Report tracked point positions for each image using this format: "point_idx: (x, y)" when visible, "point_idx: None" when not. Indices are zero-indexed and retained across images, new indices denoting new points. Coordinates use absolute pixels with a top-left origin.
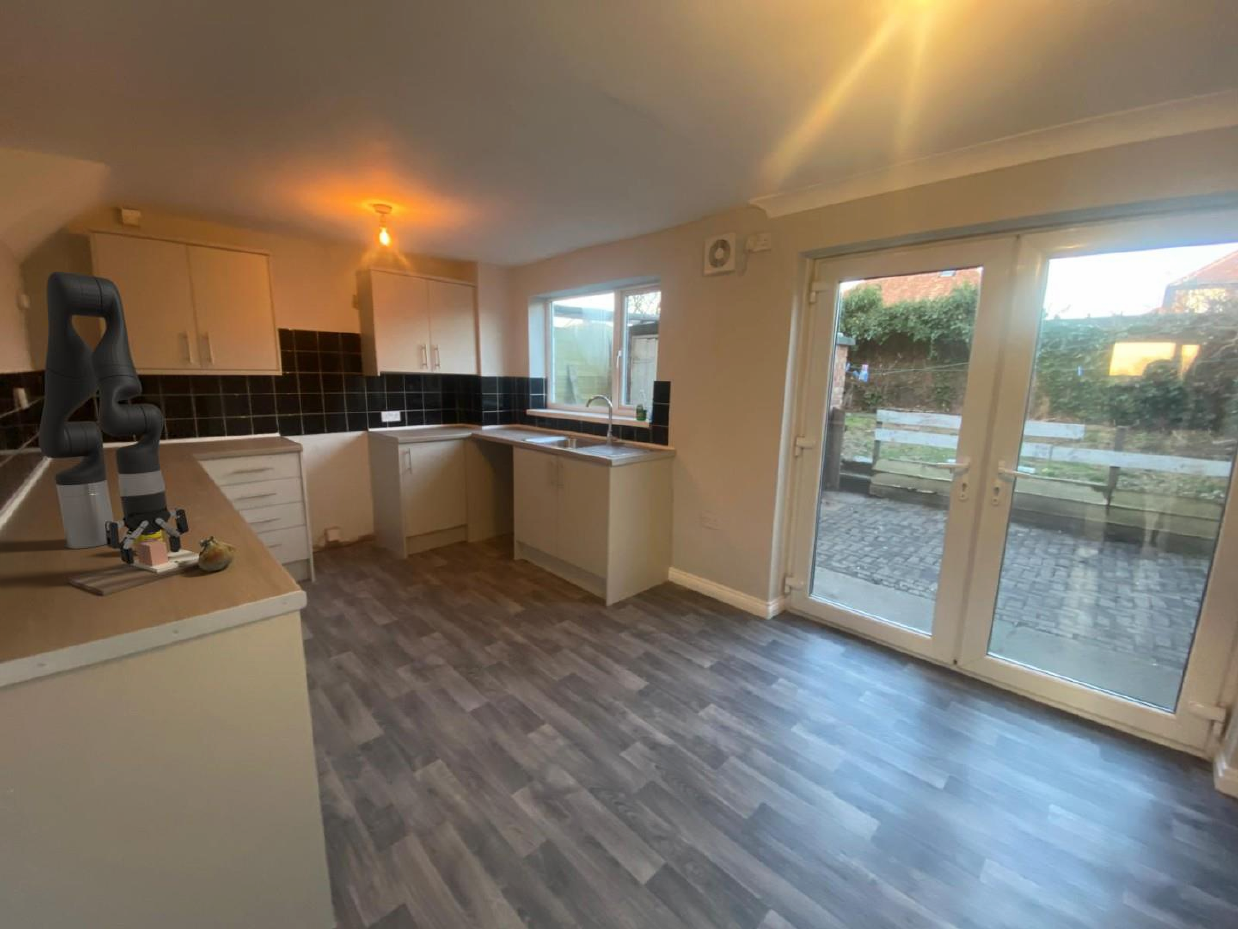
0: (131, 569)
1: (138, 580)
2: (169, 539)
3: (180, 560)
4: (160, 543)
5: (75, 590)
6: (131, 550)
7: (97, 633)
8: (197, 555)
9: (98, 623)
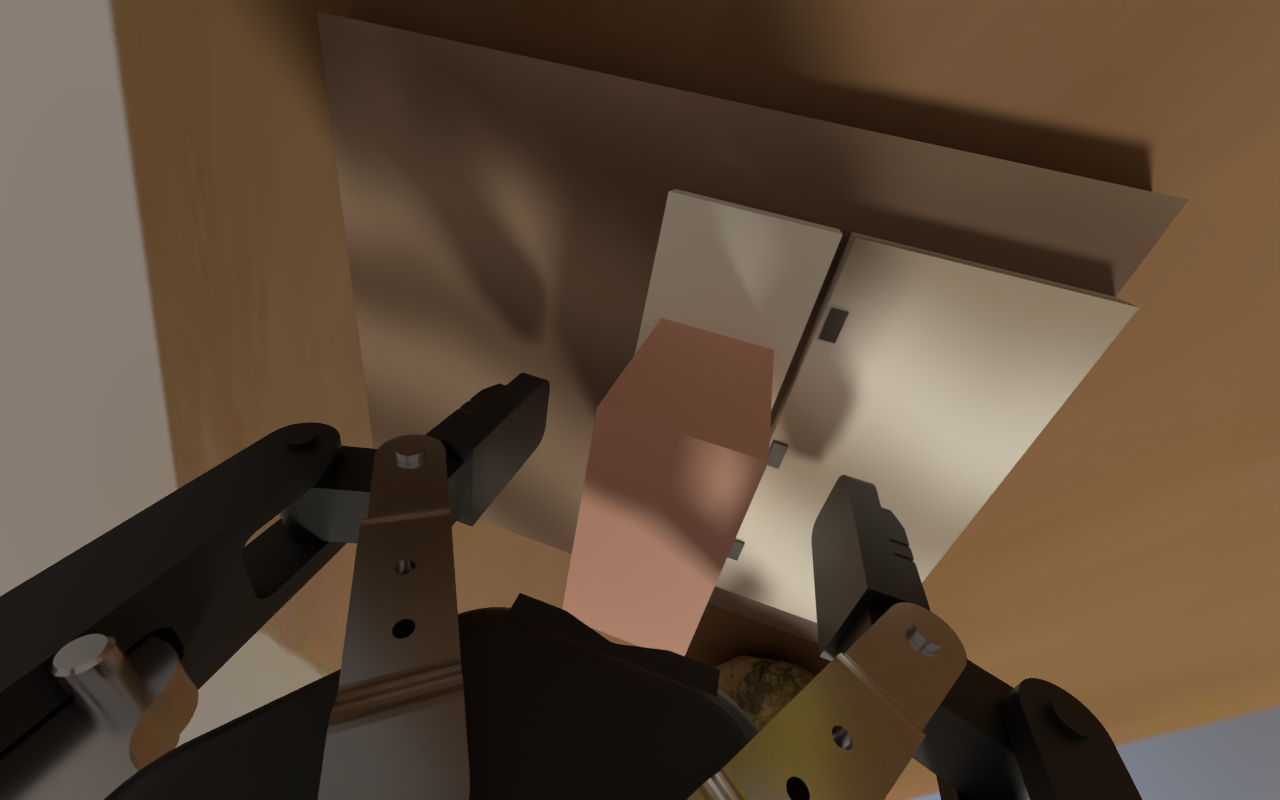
0: (598, 325)
1: (504, 520)
2: (855, 574)
3: (761, 555)
4: (646, 643)
5: (345, 264)
6: (479, 509)
7: (313, 645)
8: None
9: (326, 614)
